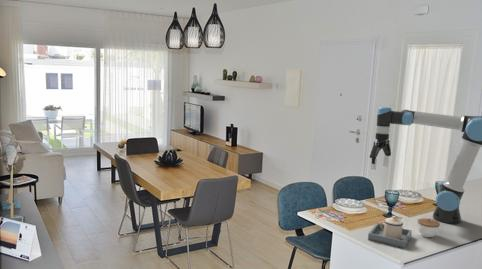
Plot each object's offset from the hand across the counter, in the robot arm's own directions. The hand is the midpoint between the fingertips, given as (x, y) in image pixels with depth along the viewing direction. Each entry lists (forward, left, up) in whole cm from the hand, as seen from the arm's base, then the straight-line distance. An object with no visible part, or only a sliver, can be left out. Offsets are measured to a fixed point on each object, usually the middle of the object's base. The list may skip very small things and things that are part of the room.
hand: (379, 167), depth 251 cm
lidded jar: (-32, +19, -29) cm, 47 cm away
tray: (-16, +35, -29) cm, 48 cm away
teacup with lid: (-16, +35, -28) cm, 48 cm away
